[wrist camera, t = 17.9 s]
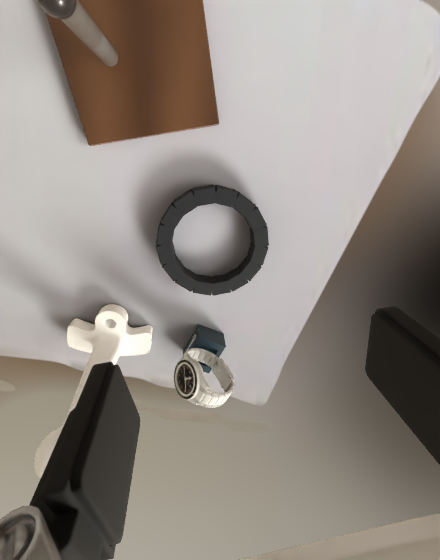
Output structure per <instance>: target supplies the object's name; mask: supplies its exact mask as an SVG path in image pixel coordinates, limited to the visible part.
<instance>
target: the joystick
mask: <svg viewBox="0 0 440 560" xmlns="http://www.w3.org/2000/svg"><path fill="white" fill-rule="evenodd" d="M127 321H128V314H127V312H126V310H125V309H124V308H122V307H121V306H119V305H114V304H110V305H106V306H104V307H103V308H102V309H101V310H100V312H99V313H98V315H97V317H96V319H95V324H91V323H88V322H85V321H82V320H80V319H74V320H73V321H72V322H71V324H70V325H69V327H68V328H67V336H68V345H69V347H71V348H74V349H77V350H81V351H84V352H89V353H91V355H90V357H89V360H88V362H87V365H86V368H85V370H84V373H83V375H82V378H81V381H80V383H79V385H78V388H77V391H76V393H75V396H74V398H73V401H72V404H71V406H70V408H69V411H68V414H67V416H66V419H67V417H68V415H69V413H70V412H71V411H72V410H73V409H75V407H76V405H77V402H78V400H79V397H80V395H81V393H82V390H83V388H84V385H85V383H86V381H87V378H88V376H89V373H90V371H91V369H92V367H93V365H95V364H100V363H105V362H112V363H113V364H114V365H115V364H116V362H117V360H118V357H119V356H133V355H141V354H146V353H149V351H150V347H151V342H152V331H153V328H152V327H151V326H149V325H147V326H142V327H137V328H132V327H130V326H129V325H128V323H127ZM66 419H65V421H64V423H63V424H62V426H61V427H60V428H58V429H56V430H54V431H53V432H51V433H50V434H49V435H48V436H46V437H45V439H44V440H43V441H42V442H41V444H40V446H39V448H38V449H37V452H36V455H35V470H36V473H37V475H38V476H39V478H40V479H41V477H42V475H43V472H44V470H45V468H46V465H47V463H48V461H49V459H50V456H51V454H52V452H53V449H54V447H55V445H56V442H57V440H58V438H59V435H60V433H61V431H62V428H63V426H64V424H65V422H66Z"/></svg>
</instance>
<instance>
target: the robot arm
mask: <svg viewBox="0 0 440 560" xmlns="http://www.w3.org/2000/svg"><path fill="white" fill-rule="evenodd" d="M365 370H366V374H367V376H368V377H369V379H370V380H371V381H372V382H373V384H374V385H375V386H376V387H377V389H378V390H379V391H380V392H381V393H382V395H383V396H384V397H385V398H386V399H387V401H388V402H389V403H390V405H391V406H392V407H393V408H394V409H395V411H396V412H397V413H398V414H399V415H400V417H401V418H402V419H403V420H404V422H405V423H406V424H407V425H408V426H409V428H410V429H411V430H412V431H413V433H414V434H415V435H416V436H417V438H418V439H419V440H420V441H421V443H422V444H423V445H424V446H425V447H426V449H427V450H428V451H429V452H430V454H431V455H432V456H433V457H434V459H435V460H436V461H437V462H438V463H439V464H440V339H439V338H438V337H437V336H435V335H434V334H432V333H431V332H430V331H428V330H427V329H426V328H424V327H423V326H422V325H420V324H419V323H418V322H416V321H415V320H413V319H412V318H411V317H409V316H408V315H407V314H405V313H404V312H403V311H401V310H400V309H399V308H397V307H395V306H390V307H386V308H380V309H377V310H376V312H375V314H373V315H372V317H371V325H370V333H369V341H368V350H367V358H366V366H365ZM139 428H140V417H139V414H138V411H137V409H136V406H135V404H134V401H133V399H132V397H131V394H130V392H129V389H128V387H127V384H126V382H125V380H124V377H123V375H122V372H121V370H120V367H119V366H118V365H114V364H113V363H112V362H105V363H100V364H95V365H93V367H92V369H91V371H90V373H89V376H88V378H87V381H86V383H85V385H84V388H83V390H82V393H81V395H80V397H79V400H78V402H77V405H76V407H75V409H73V410H72V411H71V412H70V413H69V415H68V417H67V419H66V422H65V424H64V426H63V428H62V431H61V433H60V435H59V438H58V440H57V442H56V445H55V447H54V449H53V452H52V454H51V456H50V459H49V461H48V463H47V465H46V468H45V470H44V472H43V475H42V477H41V479H40V482H39V484H38V487H37V489H36V491H35V494H34V496H33V498H32V500H31V502H30V505H29V506H22V507H20V508H18V509H15V510H13V511H11V512H10V513H9V514H7V515H5V516H4V517H2V518H1V519H0V560H108V559H112V558H114V551H115V546H116V544H118V543H120V542H121V539H122V536H123V530H124V524H125V517H126V511H127V504H128V498H129V492H130V485H131V479H132V473H133V466H134V460H135V453H136V447H137V441H138V434H139ZM241 560H440V513H437V514H432V515H428V516H424V517H419V518H415V519H411V520H407V521H402V522H397V523H393V524H389V525H384V526H380V527H376V528H372V529H367V530H363V531H359V532H354V533H351V534H346V535H342V536H337V537H334V538H329V539H325V540H320V541H316V542H312V543H308V544H303V545H299V546H295V547H291V548H286V549H282V550H278V551H274V552H270V553H265V554H261V555H257V556H253V557H249V558H245V559H241Z"/></svg>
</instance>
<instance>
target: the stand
mask: <svg viewBox="0 0 440 560" xmlns="http://www.w3.org/2000/svg"><path fill="white" fill-rule="evenodd" d="M37 2H38V4H39V5H40V6H41V8H42V9H43V10H44V11H45V12H46V15H47V18H48V21H49V24H50V27H51V30H52V33H53V36H54V40H55V43H56V46H57V49H58V52H59V55H60V58H61V61H62V64H63V67H64V70H65V73H66V76H67V79H68V82H69V86H70V89H71V92H72V95H73V98H74V101H75V104H76V107H77V110H78V113H79V116H80V119H81V122H82V125H83V128H84V131H85V135H86V138H87V141H88V144H89V145H90V146H95V145H101V144H106V143H112V142H118V141H124V140H130V139H136V138H142V137H148V136H154V135H160V134H166V133H172V132H178V131H184V130H190V129H196V128H202V127H208V126H214V125H218V124H219V119H218V112H217V104H216V97H215V89H214V82H213V74H212V67H211V59H210V52H209V44H208V37H207V29H206V22H205V14H204V6H203V0H37Z"/></svg>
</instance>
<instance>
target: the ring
mask: <svg viewBox="0 0 440 560" xmlns="http://www.w3.org/2000/svg"><path fill="white" fill-rule="evenodd" d="M193 192H194V193H193ZM213 203H217V204H221V205H225V206H230V207H233V208H234V209H235V210H237V211H238V212H239V213H241V214H242V215H243V216H244V217H245V219H246V221H247V223H248V224H249V226H250V233H251V244H250V248H249V251H248V254H247V256H246V258H245V259H244V260H243V261H242V263H241V264H240V265H239V266H238V267H237V268H235V269H234V270H232V271H230V272H229V273H227V274H225V275H219V276H214V277H209V276H203V275H198V274H195V273H194V272H192V271H191V270H189V269H187V268H186V267H184V265H183V264H182V263H181V261H180V260H179V259H178V257H177V256H176V254H175V250H174V245H173V241H172V239H173V234H174V229H175V227H176V226H177V224H178V223H179V221H180V220H181V219H182V217H183V216H184V215H185V214H187V213H188V212H190V211H191V210H193V209H194V208H196V207H197V206H201V205H207V204H213ZM266 225H267V224H266V222H265V221H264V219H263V217H262V215H261V213H260V211H259V209H258V208H257V207H256V205H255V204H253V203H252V202H251V201H250V200H248V199H247V198H246V197H245V196H243V195H242V194H241V193H240V192H238V191H236V190H234V189H230V188H226V187H222V186H218V185H215V187H214V185H209V186H203V187H197V188H193V191H192V190H191V189H190V190H189V191H187V192H186V193H184V194H183V195H181V196H180V197H178V198H177V199H175V200H174V202H172V203H171V205H170V206H169V208H168V209H167V211H166V212H165V214H164V216H163V217H162V219H161V222H160V224H159V229H158V236H157V242H156V244H157V246H156V247H157V251H158V254H159V258H160V262H161V265H162V267H163V268H164V270H165V271H166V272H167V273H168V275H169V276H170V277H171V279H172V280H173V281H175V283H177V284H179V285H180V286H182V287H184V288H185V289H187V290H189V291H192V290H193V293H199V294H205V295H211V293H212V295H218V294H224V293H229V292H231V290H232V291H235V290H236V289H238V288H240V287H241V286H243V285H245V284H247V283H248V280H249V281H250V280H251V279H252V278H253V277H254V276H255V274H256V273H257V272H258V271H259V270H260V268H261V265H263V262H264V259H265V256H266V253H267V250H268V247H267V246H269V243H268V230H267V226H266ZM230 289H231V290H230Z"/></svg>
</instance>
